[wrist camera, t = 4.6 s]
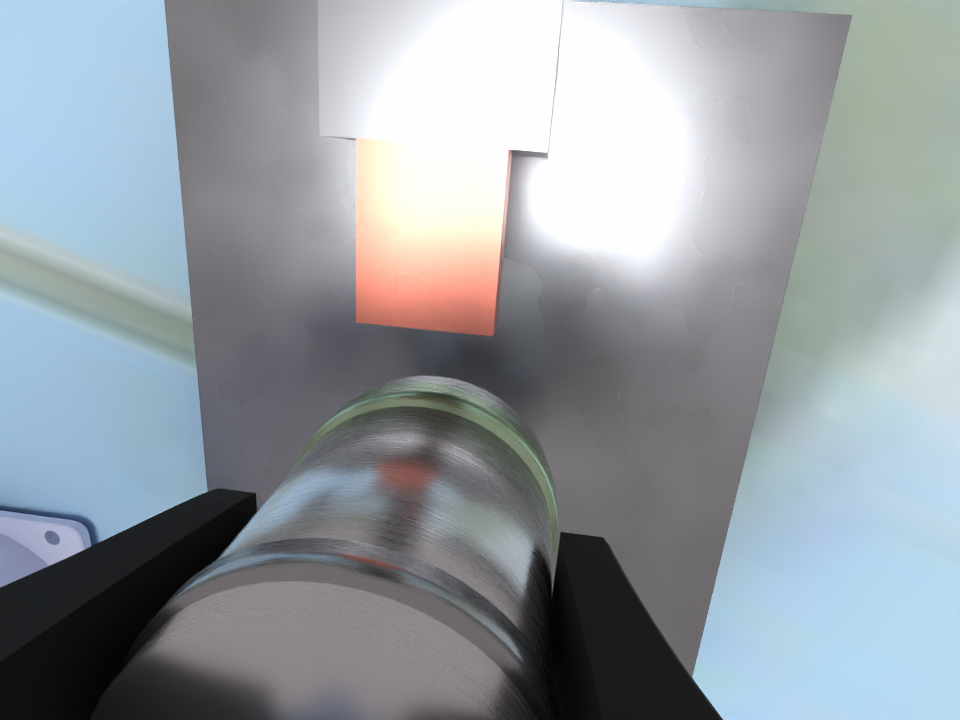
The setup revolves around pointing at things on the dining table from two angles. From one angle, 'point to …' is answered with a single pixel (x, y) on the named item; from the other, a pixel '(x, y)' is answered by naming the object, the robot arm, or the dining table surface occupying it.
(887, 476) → the dining table surface
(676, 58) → the stand
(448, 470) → the silver metal canister
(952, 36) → the dining table surface
